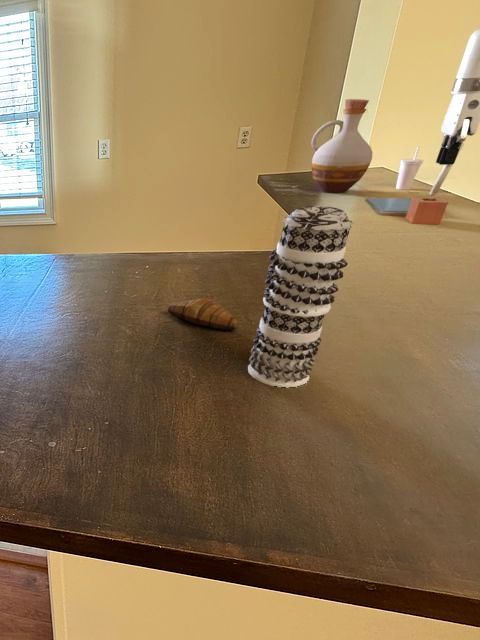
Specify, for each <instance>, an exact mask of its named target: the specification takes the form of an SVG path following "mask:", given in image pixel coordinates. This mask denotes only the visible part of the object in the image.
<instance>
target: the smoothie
mask: <svg viewBox="0 0 480 640" xmlns="http://www.w3.org/2000/svg"><path fill="white" fill-rule="evenodd" d="M419 149H420V146H417V147H416V151H415V153H414V157H413V158H401V159H400V161H399V164H400V165H399V170H398V175H397V182H396V187H395V190H402V191H407V190H409V189H410V188H411V186H412V183H413V182H414V179H415V178H416V177H417V173H418V171H419V169H420V167H421V165H422V164H423V163H424V159H421V158H417V156H418V153H419Z"/></svg>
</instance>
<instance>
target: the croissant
mask: <svg viewBox="0 0 480 640" xmlns="http://www.w3.org/2000/svg"><path fill="white" fill-rule="evenodd" d="M168 305H169V306H168V308H167V311H168V312H167V313H169V314H170V315H171V316H173V317H176V318H178V319H181V320H183V321H186V322H189V323H191V324H193V325H197V326H202V327H209V328H212V329H215V330H216V329H217V330H222V331H235V330H236V329H237V328H238V326H239V321H238V320H237V318H236V317H234V315H233V314H232V313H230V312H229V311H227V310H226V308H223V307H222V306H221V305H220V303H219V302H218V301H216V300H214V299H211V298H207V297H202V298H196V299H192V300H184V301H177V302H173V303H169V304H168Z"/></svg>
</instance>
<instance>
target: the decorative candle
mask: <svg viewBox="0 0 480 640" xmlns="http://www.w3.org/2000/svg"><path fill="white" fill-rule="evenodd" d="M281 221H282V223H283V227H282V229H281V231H282V232H281V236H280V239H279V240H278V242H277V246H276V247H275V249H273V250H272V251H271V252H270V255H269V260H270V262H271V264H269V265H268V266H267V275H266V279H265V281H264V283H265V284H266V288H265V289H264V293H263V298H262V301H263V302H262V303H263V305H264V310H263V315H262V317H261V318H260V320H259V326H258V327H256V330H255V335H256V336H255V337H254V339H253V343H254V345H253V346H252V347H251V349H250V354H251V355H250V357H249V359H248V362H249V364H248V365H247V371H248V374H249V375H250V376H251V377H252V379H254V380H256V381H258V382H260V383H262V384H264V385H268V386H271V387H274V386H277V387H276V388H281V387H286V388H285V389H290V388H289V387H296V388H298V387H297V386H300V385H303V384H305V383H306V384H308V382H309V380H310V375H311V374H312V372H311V371H313V366H315V363H314V362H316V358H315V356H317V354H318V351H319V348H318V347H319V346H320V343H321V342H322V338H321V337H320V336H321V335H322V330H323V326H322V325H323V321H324V319H325V314H328V313H329V312H330V310H331V309H332V306H331V304H333V303H334V302H335V296H334V295H333V294H335V293H337V292H338V291H339V287H338V285H337V284H336V283H335V282H334V281H337V280H340V279H343V278H344V272H343V271H342V270H341V269H344V268H346V267H347V266H348V264H349V263H348V262H347V260H346V259H344V257H345V254H346V250H347V246H346V244H347V241H348V237H349V235H350V230H351V228H353V226H355V223H354V222H353V221H352V220H350V219H349V217H348V214H347V213H346V212H345V211H344V210H343V209H341V208H337V207H332V206H325V205H308V206H301V207H298V208H296V209H295V210H293V211H292V212H291V213H290V215H289V216H286V217H285V216H284V218H282V219H281ZM307 381H308V382H307ZM306 384H305V385H306ZM303 386H304V385H303ZM300 387H301V386H300Z"/></svg>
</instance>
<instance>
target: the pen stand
mask: <svg viewBox="0 0 480 640" xmlns="http://www.w3.org/2000/svg"><path fill="white" fill-rule="evenodd" d="M411 199H412V201H411V204H410V206H409V209H408V212H407V215H405V219H406V220H407V221H408V222H410V224H413V225H414V224H419V225H440V224H441V222H442V219H443V217H444V215H445V212H446V210H447V207H448V204H449V202H448V201H447V200H446V199H443V198H442V197H441V196H440V197H437V196H436V197H434V196H431V197H429V196H413V197H412V198H411Z"/></svg>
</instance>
